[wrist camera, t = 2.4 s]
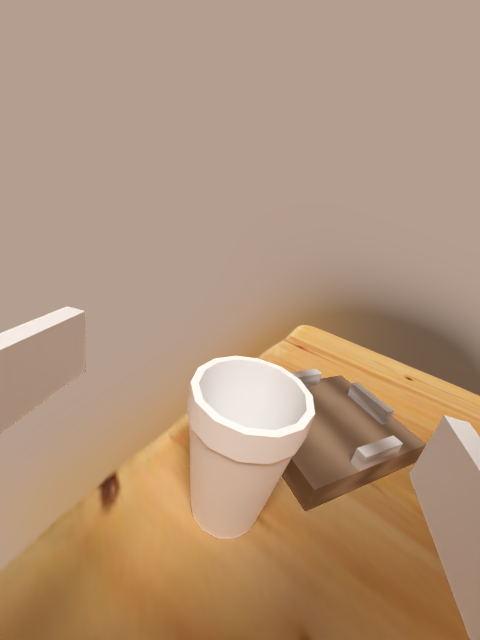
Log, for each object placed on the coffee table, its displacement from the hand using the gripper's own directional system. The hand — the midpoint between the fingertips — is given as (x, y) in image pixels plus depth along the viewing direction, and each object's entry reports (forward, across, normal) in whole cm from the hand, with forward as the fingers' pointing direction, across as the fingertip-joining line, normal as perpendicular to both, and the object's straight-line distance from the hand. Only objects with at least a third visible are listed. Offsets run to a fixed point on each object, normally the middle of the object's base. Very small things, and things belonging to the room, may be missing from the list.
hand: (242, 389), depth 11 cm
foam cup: (+10, 0, -20) cm, 22 cm away
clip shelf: (+23, +10, -20) cm, 32 cm away
